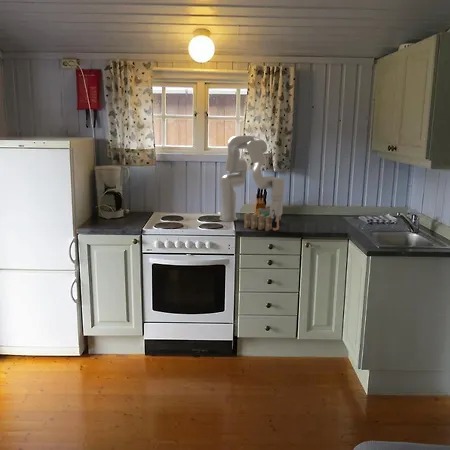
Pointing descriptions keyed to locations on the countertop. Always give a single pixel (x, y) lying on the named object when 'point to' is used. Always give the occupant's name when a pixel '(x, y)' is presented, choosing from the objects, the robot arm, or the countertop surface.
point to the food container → (264, 212)
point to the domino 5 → (277, 224)
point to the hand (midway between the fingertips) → (275, 226)
